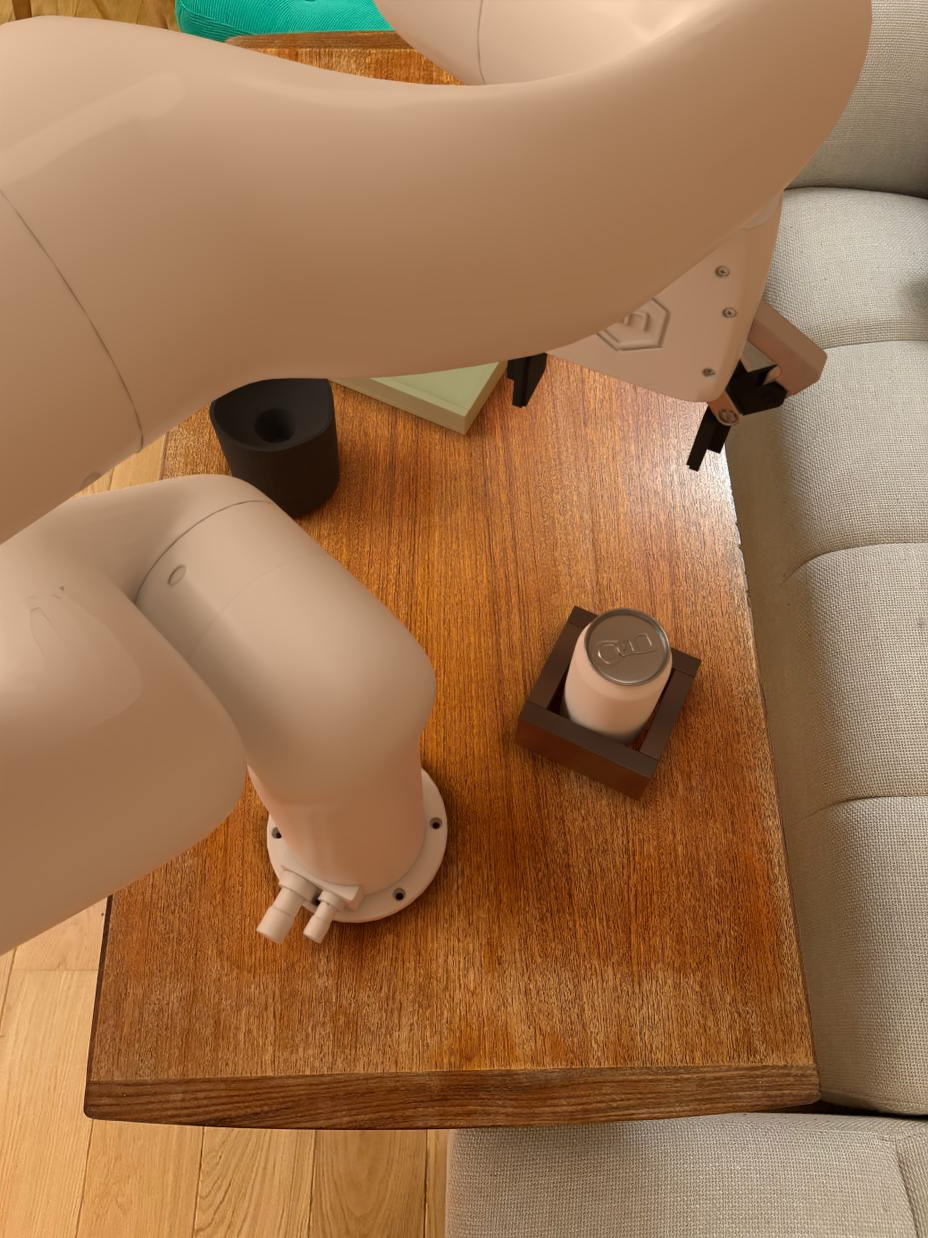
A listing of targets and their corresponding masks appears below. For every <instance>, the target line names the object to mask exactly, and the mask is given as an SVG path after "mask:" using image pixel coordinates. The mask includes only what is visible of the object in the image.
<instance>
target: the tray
mask: <svg viewBox="0 0 928 1238" xmlns="http://www.w3.org/2000/svg"><path fill="white" fill-rule="evenodd" d="M507 363H508V360H506V361H501V362H496V363H490V364H485V365H479V366H473V367H466V368H459V369H453V370H446V371H438V372H431V373H424V374H416V375H405V376H395V377H378V378H354V379H328V381H329V382H330V381H331V382H333V383H335V384H338V385H340V386H343V387H345V388H347V389H350V390H352V391H354V392H357V393H360V394H362V395H365V396H367V397H368V398H369V397H370V398H372V399H375V400H376V401H379V402H382V403H385V404H386V405H389V406H392V407H394V408H397V409H398V410H402V411H404V412H407V413H409V414H411V415H414V416H416V417H419V418H421V419H423V420H426V421H428V422H431V423H433V424H436V425H439V426H441V427H443V428H446V429H447V430H451V431H453V432H456V433H458V434H460V435H463V436H466V435H467V433H468V431H469V429H470V428H471V426H472V424H473V423H474V421H475V420H476V418H477V416H478V415H479V413H480V412H481V410H482V409H483V407H484V405H485V404H486V402H487V400H488V399H489V397H490V395H492V392H493V391H494V389H495V388H496V385H498V383H499V380H500V379H501V377H502V376H503V374H504V373H505V371H506V370H507Z"/></svg>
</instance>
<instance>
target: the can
mask: <svg viewBox="0 0 928 1238" xmlns="http://www.w3.org/2000/svg"><path fill="white" fill-rule="evenodd" d="M671 647H672V646H671V641H670V638H669V635H668V633H667V631H666V629H665V628H664V627H663V625H662V624H661V622H659V621H658V620H657V619H656V618H654V617H653V616H651V614H649V613H647V612H645V611H642V610H641V609H637V608H631V607H615V608H611V609H608V610H606V611H604V612H602V613H601V614H599V616H598V617H596V618H595V619H594V620H593V621H592V622H591V623H590V624H589V625H588V626H587V627H586V628H585V629H584V630H583V631H582V633H581V635H580V636H579V638H578V641H577V643H576V646H575V650H574V653H573V657H572V660H571V664H570V668H569V672H568V675H567V679H566V683H565V685H564V687H563V690H562V691H563V692H562V695H561V699H560V704H559V716H561V717H564V718H566V719H568V720H570V721H572V722H575V723H577V724H579V725H581V726H583V727H585V728H588V729H590V730H592V731H594V732H596V733H599V734H601V735H603V736H605V737H607V738H610V739H612V740H614V741H616V742H618V743H620V744H623V745H625V746H627V747H629V748H630V747H631V746H632V745H633V744H635V742H636V741H637V740H638V739H639V738H640V736H641V735H642V733H643V731H644V729H645V728H646V726H647V723H648V722H649V720H650V717H651V716H652V713H653V711H654V710H655V707H656V705H657V703H658V701H659V699H660V698H661V697H660V696H662V695H661V693H662V691H663V688H664V686H665V684H666V682H667V680H668V677H669V675H670V671H671V666H672V654H671Z"/></svg>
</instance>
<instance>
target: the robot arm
mask: <svg viewBox="0 0 928 1238" xmlns="http://www.w3.org/2000/svg"><path fill="white" fill-rule="evenodd" d="M372 2H373V4H374V6H375V7H376V8H377V10H378V12H379V13H380V14H381V16H382V18H383V19H384V20H385V22H386V23H387V24H388V25H389V26H390V27H391V29H392V30H393V31H394V32H395V33H396V34H397V35H398V36H399V37H400V38H401V39H402V40H403V41H405V43H407V45H408V46H411V48H413V49H414V50H415V51H417V53H419V54H420V55H421V56H423V57H424V58H426V59H427V60H428V61H430V62H431V63H433V64H434V65H436V66H437V67H438V68H440V69H441V70H443V71H444V72H446V73H447V74H448V75H450V76H451V77H453V78H454V79H456V80H458V81H459V82H460V83H462V84H463V85H462V84H429V83H427V84H425V83H415V82H408V81H400V80H399V81H398V80H391V79H381V78H374V77H370V76H369V77H368V76H363V75H358V74H353V73H348V72H343V71H337V70H331V69H327V68H322V67H318V66H314V65H311V64H307V63H303V62H299V61H295V60H291V59H287V58H284V57H280V56H276V55H272V54H268V53H264V52H261V51H257V50H253V49H249V48H245V47H242V46H237V45H233V44H229V43H225V42H223V41H219V40H218V41H217V40H214V39H210V38H206V37H203V36H199V35H195V34H190V33H185V32H181V31H177V30H172V29H166V28H162V27H156V26H151V25H143V24H138V23H131V22H124V21H118V20H111V19H103V18H94V17H93V18H92V17H78V16H69V15H67V16H66V15H51V14H50V15H38V16H32V17H28V18H23V19H17V20H13V21H7V22H4V23H2V24H0V957H2V956H4V955H6V954H8V953H9V952H11V951H13V950H15V949H16V948H19V947H20V946H22V945H24V944H25V943H28V942H29V941H31V940H32V939H34V938H36V937H38V936H40V935H42V934H44V933H45V932H47V931H49V930H51V929H52V928H54V927H56V926H58V925H60V924H62V923H63V922H65V921H67V920H69V919H71V918H72V917H74V916H76V915H78V914H79V913H82V912H83V911H85V910H87V909H89V908H90V907H93V906H94V905H95V904H98V903H99V902H101V901H103V900H104V899H107V898H108V897H110V896H111V895H114V894H115V893H117V892H119V891H121V890H122V889H124V888H126V887H128V886H130V885H131V884H133V883H135V882H137V881H138V880H140V879H143V878H144V877H145V876H147V875H149V874H151V873H153V872H154V871H156V870H158V869H160V868H161V867H163V866H165V865H166V864H167V863H169V862H171V861H173V860H174V859H176V858H178V857H179V856H181V855H182V854H184V853H185V852H187V851H188V850H190V849H191V848H193V847H194V846H195V845H197V844H198V843H200V842H201V841H203V840H204V839H205V838H207V837H208V836H210V834H211V833H213V832H214V831H215V830H216V829H217V828H218V827H219V826H220V825H221V824H222V823H223V822H224V821H226V819H227V818H228V817H229V816H230V815H231V813H232V812H233V811H234V808H235V807H236V806H237V803H238V802H239V800H240V798H241V797H242V795H243V793H244V790H245V786H246V778H247V773H248V775H249V778H250V781H251V783H252V786H253V788H254V790H255V792H256V793H257V796H258V797H259V800H260V801H261V803H262V805H263V806H264V807H265V809H266V810H267V812H268V820H267V824H266V825H267V826H266V848H267V851H268V856H269V861H270V864H271V866H272V868H273V871H274V873H275V875H276V877H277V880H278V881H279V882H278V883H277V886H278V887H279V888H281V889H280V891H279V892H278V894H277V896H276V898H275V899H274V901H273V903H272V905H271V906H269V907H268V908H267V910H266V912H265V914H264V915H263V917H262V918H261V921H260V922H259V924H258V926H257V927H256V930H255V931H256V932H257V933H258V934H259V935H261V936H263V937H264V938H266V939H268V940H270V941H272V942H273V943H276V944H277V945H280V946H282V945H283V944H284V942H285V939H286V938H287V935H288V934H289V932H290V930H291V928H292V927H293V925H294V923H295V921H296V919H295V918H296V916H297V915H298V914H299V911H300V909H301V908H302V907H303V908H305V909H306V910H307V911H309V912H311V913H313V915H312V916H311V917H310V918H309V920H308V923H307V924H306V926H305V927H304V930H303V931H302V935H303V936H305V937H306V938H307V939H309V940H311V941H313V942H314V943H318V944H322V943H323V940H324V938H325V936H326V935H327V933H328V931H329V929H330V927H331V923H332V922H333V921H335V922H339V923H354V924H360V923H361V924H362V923H368V922H373V921H379V920H382V919H384V918H386V917H389V916H393V915H395V914H396V913H398V912H400V911H402V910H403V909H405V908H406V907H408V906H410V905H411V904H412V903H413V902H414V901H416V899H418V898H419V897H420V896H421V895H422V894H424V892H425V891H426V890H427V888H428V887H429V885H430V884H431V883H432V882H433V880H434V879H435V877H436V875H437V873H438V870H439V869H440V867H441V865H442V863H443V860H444V857H445V856H444V855H445V852H446V848H447V842H448V841H447V840H448V818H447V813H446V808H445V803H444V800H443V798H442V795H441V793H440V791H439V788H438V786H437V784H436V783H435V782H434V780H433V778H432V777H431V775H430V774H429V773H428V772H427V771H426V770H425V769H424V768H423V767H422V759H421V750H420V740H421V737H422V735H423V734H424V730H425V729H426V728H427V724H428V723H429V720H430V717H431V715H432V712H433V709H434V705H435V701H436V694H437V677H436V673H435V670H434V667H433V666H434V665H433V664H432V662H431V659H430V658H429V656H428V654H427V653H426V651H425V649H424V648H423V647H422V645H421V644H420V642H418V640H417V639H416V638H415V636H414V635H413V634H412V633H411V631H409V629H408V628H407V627H406V626H405V624H404V623H403V622H402V621H400V619H398V617H397V616H396V615H395V614H394V613H393V612H392V611H391V610H390V608H388V607H387V606H386V605H385V603H383V602H382V601H381V600H380V599H379V598H378V597H377V596H376V595H375V594H374V593H373V592H371V590H369V588H367V587H366V586H365V585H364V584H363V582H361V581H360V580H359V579H358V578H357V577H356V576H355V575H354V574H353V573H351V572H350V570H348V569H347V568H346V567H345V566H344V565H343V564H342V563H341V562H340V561H339V560H338V559H336V558H334V557H332V556H331V554H330V553H328V551H327V550H325V548H323V546H321V545H320V544H319V543H318V542H317V541H316V540H315V539H314V538H313V537H312V536H311V535H310V534H308V532H307V531H306V530H304V529H303V528H302V527H301V526H300V525H299V524H298V523H297V522H296V521H295V520H294V519H293V518H290V517H289V516H288V515H287V514H286V513H285V512H284V511H283V510H282V509H281V508H280V507H279V506H277V505H276V504H275V503H274V502H273V501H272V500H271V499H269V498H268V497H267V496H266V495H265V494H263V493H262V492H261V491H260V490H258V489H257V488H255V487H254V486H252V485H251V484H249V483H247V482H245V481H243V480H241V479H238V478H235V477H233V476H232V475H226V474H220V473H198V474H188V475H182V476H175V477H171V478H166V479H165V478H164V479H160V480H154V481H150V482H144V483H141V484H134V485H130V486H126V487H125V486H124V487H120V488H115V489H110V490H105V491H100V492H96V493H90V494H86V495H80V496H76V495H77V494H78V493H80V492H81V491H83V490H85V489H86V488H88V487H89V486H91V485H92V484H94V483H95V482H97V481H98V480H99V479H101V478H102V477H103V476H105V475H106V474H108V473H109V472H111V470H112V469H114V468H115V467H117V466H118V465H120V464H122V463H123V462H125V461H126V460H127V459H129V458H130V457H132V456H133V455H135V454H138V453H140V452H142V451H143V450H145V449H146V448H147V447H149V446H150V445H152V444H153V443H154V442H156V441H157V440H159V439H160V438H162V437H163V436H164V435H166V434H167V433H169V432H170V431H172V430H173V429H174V428H176V427H178V426H179V425H180V424H182V423H183V422H184V421H186V420H187V419H188V418H190V417H191V416H194V414H196V413H197V412H199V411H200V410H202V409H203V408H205V407H206V406H208V405H211V402H213V401H214V400H216V399H217V398H219V397H221V396H223V395H225V394H227V393H229V392H230V391H232V390H234V389H237V388H239V387H242V386H244V385H247V384H249V383H253V382H257V381H261V380H268V379H281V378H322V379H354V378H378V377H395V376H405V375H416V374H424V373H431V372H438V371H446V370H453V369H459V368H466V367H473V366H479V365H485V364H490V363H496V362H501V361H506V360H508V363H507V368H506V379H508V380H511V381H513V386H512V396H511V405H512V406H513V407H516V408H519V409H522V408H523V407H524V408H526V407H527V406H528V404H529V402H530V400H531V398H532V397H533V395H534V392H535V391H536V389H537V387H538V385H539V384H540V381H541V379H542V378H543V376H544V374H545V371H546V368H547V363H548V355H550V356H552V357H556V358H558V359H560V360H563V361H565V362H568V363H570V364H574V365H576V366H579V367H582V368H584V369H588V370H590V371H593V372H596V373H599V374H601V375H603V376H607V377H610V378H612V379H616V380H619V381H622V382H625V383H628V384H630V385H633V386H637V387H639V388H641V389H645V390H649V391H651V392H653V393H657V394H660V395H662V396H666V397H670V398H673V399H676V400H680V401H683V402H689V403H706V404H707V406H706V409H705V411H704V414H703V415H702V418H701V420H700V424H699V426H698V428H697V432H696V435H695V437H694V441H693V443H692V446H691V450H690V451H689V455H688V457H687V459H686V462H685V466H688V470H691V471H694V472H697V473H698V472H699V470H700V468H701V465H702V463H703V461H704V458H705V456H706V454H707V451H710V452H713V453H716V454H719V455H721V454H722V450H723V448H724V446H725V443H726V442H727V438H728V435H729V434H730V431H731V428H732V427H735V426H737V425H738V424H740V423H741V420H742V418H743V417H744V416H745V417H746V416H748V415H749V416H750V415H752V414H756V413H761V412H765V411H770V410H773V409H777V408H780V407H782V406H783V405H784V402H785V401H786V399H788V398H790V397H791V396H793V397H795V396H796V395H797V394H799V393H801V392H803V391H804V390H806V389H807V388H809V387H811V386H813V385H814V384H816V383H818V382H819V381H820V379H821V376H822V374H823V372H824V369H825V365H826V363H827V360H828V354H827V353H826V351H825V350H824V349H823V348H821V347H820V346H819V345H818V344H817V343H815V342H814V340H813V339H811V338H810V337H808V336H807V335H806V334H805V333H804V332H802V330H800V329H799V328H798V327H797V326H795V324H793V323H792V322H790V321H789V320H788V319H787V318H786V317H785V316H784V315H782V314H781V313H780V312H779V311H778V310H776V308H774V307H773V306H772V305H770V303H768V302H767V301H766V300H765V299H764V298H763V294H764V291H765V287H766V284H767V281H768V277H769V274H770V269H771V266H772V262H773V258H774V253H775V248H776V245H777V239H778V235H779V229H780V222H781V216H782V209H783V201H784V192H785V189H786V188H787V187H788V186H790V184H791V183H792V182H793V181H794V180H795V179H796V178H797V177H798V175H799V174H800V173H801V172H802V171H803V170H804V169H805V167H806V166H807V165H808V164H809V163H810V161H811V160H812V158H814V156H815V155H816V153H817V152H818V151H819V149H820V148H821V147H822V146H823V144H824V143H825V141H826V140H827V139H828V137H829V136H830V135H831V133H832V131H833V129H834V128H835V127H836V124H837V123H838V121H839V119H840V118H841V117H842V115H843V113H844V111H845V109H846V108H847V106H848V103H849V102H850V99H851V97H852V94H853V93H854V91H855V89H856V87H857V84H858V82H859V80H860V78H861V77H860V76H861V73H862V72H863V71H862V70H863V67H864V64H865V61H866V57H867V53H868V50H869V45H870V40H871V32H872V24H873V9H872V7H873V6H872V0H372ZM747 342H748V343H750V344H751V345H752V346H753V347H754V348H755V349H757V350H758V351H759V352H761V353H762V354H763V355H764V356H765V357H767V358H768V359H769V360H770V361H771V362H773V364H771V365H767V366H764V367H760V368H757V369H754V368H753V367H752V365H751V363H750V362H749V359H748V357H747V356H746V354H745V352H744V349H745V346H746V344H747ZM74 496H76V497H74ZM436 824H437V825H439V827H437V828H434V827H433V826H434V825H436ZM278 834H280V835H281V837H280V838H279V837H277V835H278ZM398 895H402V898H401V899H397V896H398ZM317 900H318V901H319V904H316V901H317Z"/></svg>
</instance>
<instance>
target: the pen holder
mask: <svg viewBox="0 0 928 1238" xmlns="http://www.w3.org/2000/svg"><path fill="white" fill-rule="evenodd" d="M330 383H331V382H330V380H328V379H322V378H281V379H268V380H261V381H257V382H253V383H249V384H247V385H244V386H242V387H239V388H237V389H234V390H232V391H230V392H229V393H227V394H225V395H223V396H221V397H219V398H217V399H216V400H214V401H213V402H211V403H210V404H209V409H208V415H209V420H210V423H211V425H212V427H213V430H214V432H215V435H216V438H217V440H218V444H219V445H220V449H221V451H222V453H223V455H224V459H225V461H226V463H227V465H228V468H229V471H230V474H231V476H232V477H235V478H238V479H241V480H243V481H245V482H247V483H249V484H251V485H252V486H254V487H255V488H257V489H258V490H260V491H261V492H262V493H263V494H265V495H266V496H267V497H268V498H269V499H271V500H272V501H273V502H274V503H275V504H276V505H277V506H279V507H280V508H281V509H282V510H283V511H284V512H285V513H286V514H287V515H288V516H289V517H290V518H291V519H293V518H298V517H302V516H305V515H307V514H310V513H313V512H314V511H316V510H318V509H319V508H321V507H322V506H324V504H326V503H327V501H329V500H330V499H331V497H332V496H333V495H334V494H335V491H336V489H337V488H338V484H339V481H340V474H341V473H340V469H341V467H340V455H339V454H340V451H339V442H338V430H337V421H336V419H337V418H336V411H335V410H336V409H335V399H334V393H333V390H332V385H331V384H330Z"/></svg>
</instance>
